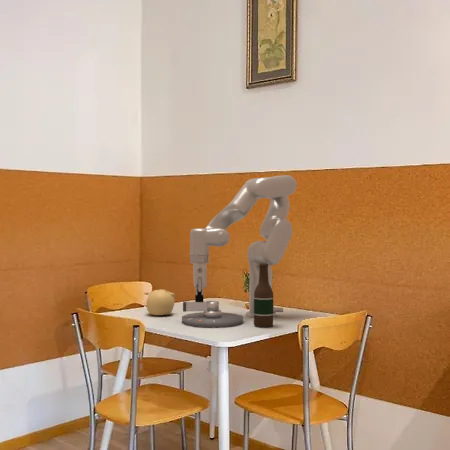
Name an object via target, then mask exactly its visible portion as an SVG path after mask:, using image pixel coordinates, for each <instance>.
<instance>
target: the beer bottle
mask: <svg viewBox="0 0 450 450" xmlns="http://www.w3.org/2000/svg"><path fill="white" fill-rule="evenodd" d="M259 266H260V272H259V283H258V285H257V287H256V289H255V291H254V318H253V325H254V327H255V328H272V327H273V326H274V317H273V306H274V292H273V288H272V289H271V287H270V285H269V281H268V263H260V264H259Z"/></svg>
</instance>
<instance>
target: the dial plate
mask: <svg viewBox="0 0 450 450" xmlns="http://www.w3.org/2000/svg"><path fill="white" fill-rule="evenodd" d="M243 323H244V317H243V315H241V314H237V313H232V312H223V311H221V317H218V318H207V317H204V311H199V312H192V313H187V314H184V315H182V316H181V324H183V325H185V326H188V327H193V328H203V329H204V328H205V329H217V328H218V329H219V328H220V329H221V328H232V327H238V326H240V325H242V324H243Z"/></svg>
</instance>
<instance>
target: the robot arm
mask: <svg viewBox="0 0 450 450" xmlns="http://www.w3.org/2000/svg"><path fill="white" fill-rule="evenodd" d="M297 184H298V183H297V181H296V179H295V178H294V177H293V176H292V175H288V174H284V175H274V176H269V177H267V176H266V177H258V178H257V177H256V178H255V177H254V178H250V179H248V180H247V181H245V183H244V184H243V185H242V187H241V188H240V189H239V190H238V192H236V194H235V196H234V197H233V199H231V201H230V202H229V203H228V204H227V205H226V206H225V207H223V209H221V210H220V211H219V212H218V213H217V214H216V215H215V216H214V217H213V218H212V219H211V220H210V221H209V223H208V224H207V225H206V227H205V228H204V227H203V228H199V227H197V228H192V229H191V230H190V234H189V235H190V236H189V242H190V243H189V260H190V261H189V263H190V264H192V266H193V267H192V275H193V276H192V277H193V287H194V288H195V296H194V299H195V300H194V302H204V289H206V288H208V286H207V280H208V279H207V278H208V276H207V274H208V271H207V270H208V269H207V264H210V247H217V248H219V247H224V246H226V245H228V243H229V242H230V238H231V236H230V233H229V232H228V230H227V229H228V228H229V227H230V226H232V225H233V224H235V223H237V222H239V221H241V220H243V219H245V217H246V216H247V215H248V214H249V213H250V211H251V210H252V208H253V207H254V206H255V204H256V203H257V202H258V201H259V200H260V199H269V207H268V209H267V212H266V215H265V217H264V219H263V221H262V223H261V225H260V229H259V231H260V232H259V233H260V236H261V237H262V238H263V239H265V240H257V241H254V242H252V243H251V244H250V245H249V246H248V249H247V261H248V271H249V273H248V274H249V276H248V277H249V280H248V281H249V282H248V283H249V284H248V285H249V293H248V294H249V295H248V296H249V297H248V299H249V300H248V301H249V303H248V305H249V306H248V307H249V309H248V310H249V311H248V312H246V313H245V317H248V318H251V319H254V291H255V289H256V287H257V285H258V283H259V272H260V266H259V264H260V263H268V281H269V285H270V287H271V289H272V290H273V270H272V266H276V265H277V264H279V263H280V262H281V260H282V258H283V257H284V254H285V253H286V250H287V248H288V245H289V244H290V241H291V238H292V236H293V226H292V224H291V222H290V221H289V220H288V215H289V213H290V207H291V206H290V204H291V203H290V199H289V196H291V195H293V194H294V193H295V192H296V190H297V188H298V187H297V186H298V185H297ZM283 312H284V307H278V306H277V307H276V306H274V305H273V318H274V317H275V318H276V316H277V313H283Z"/></svg>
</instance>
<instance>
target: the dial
mask: <svg viewBox="0 0 450 450" xmlns="http://www.w3.org/2000/svg"><path fill="white" fill-rule="evenodd" d="M182 312H204V317H207V318H218V317H221V312H222V310H221V309H220V302H219V301H218V300H208V301H205V300H203V302H195V301H182Z"/></svg>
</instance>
